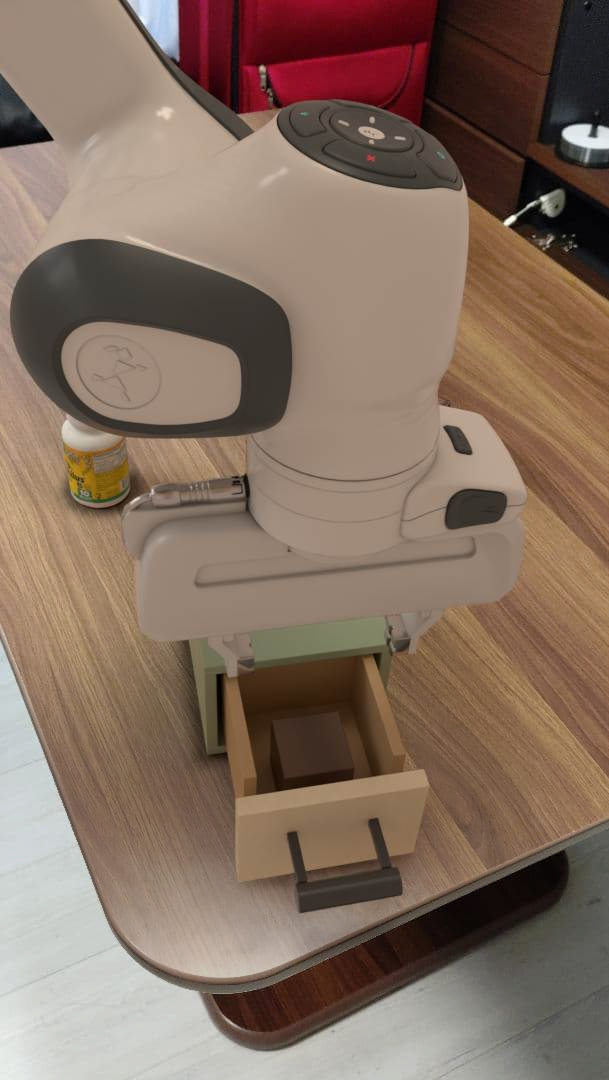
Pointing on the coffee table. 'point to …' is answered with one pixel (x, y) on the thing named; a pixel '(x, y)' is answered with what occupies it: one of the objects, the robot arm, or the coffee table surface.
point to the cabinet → (285, 660)
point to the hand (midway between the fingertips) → (320, 656)
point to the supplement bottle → (95, 464)
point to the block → (309, 751)
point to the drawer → (325, 810)
